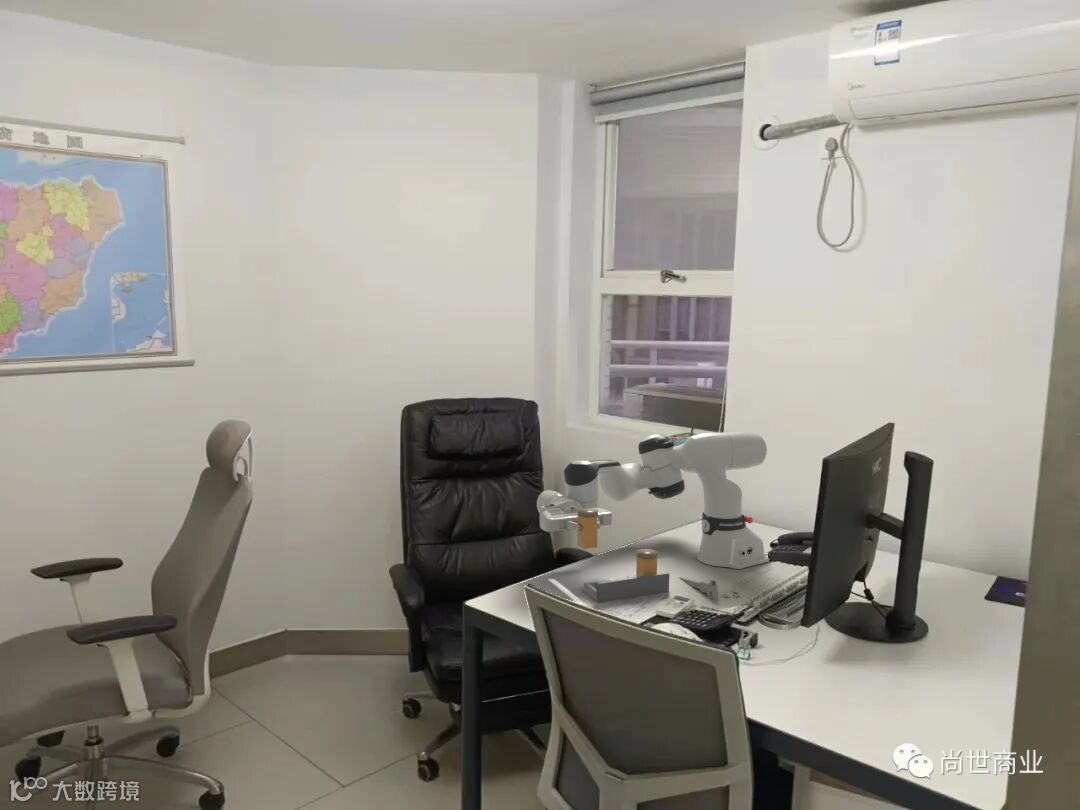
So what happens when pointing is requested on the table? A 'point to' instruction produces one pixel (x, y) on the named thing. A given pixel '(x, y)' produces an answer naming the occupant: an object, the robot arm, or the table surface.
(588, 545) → the amber lidded jar
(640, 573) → the orange jar with lid
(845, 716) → the table surface
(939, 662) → the table surface
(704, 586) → the caliper
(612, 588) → the housing
